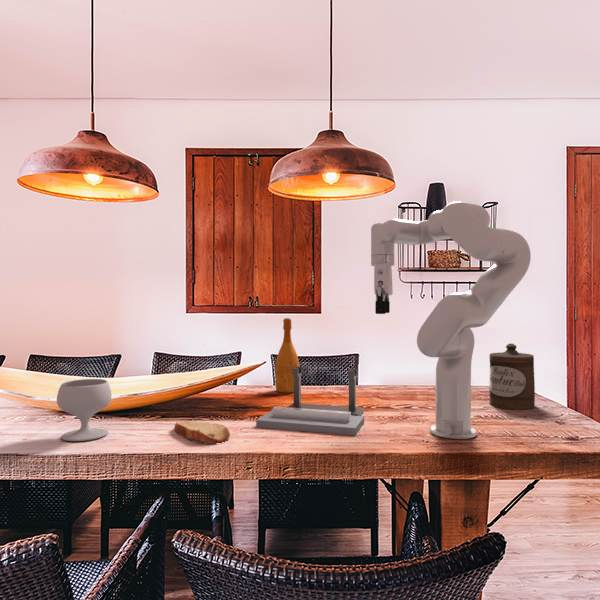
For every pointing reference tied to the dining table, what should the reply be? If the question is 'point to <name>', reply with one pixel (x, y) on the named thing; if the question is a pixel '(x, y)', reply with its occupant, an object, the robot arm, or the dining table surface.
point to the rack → (352, 405)
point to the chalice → (84, 405)
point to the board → (311, 424)
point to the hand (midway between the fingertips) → (382, 313)
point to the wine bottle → (286, 361)
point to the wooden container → (512, 379)
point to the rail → (312, 414)
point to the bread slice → (202, 432)
